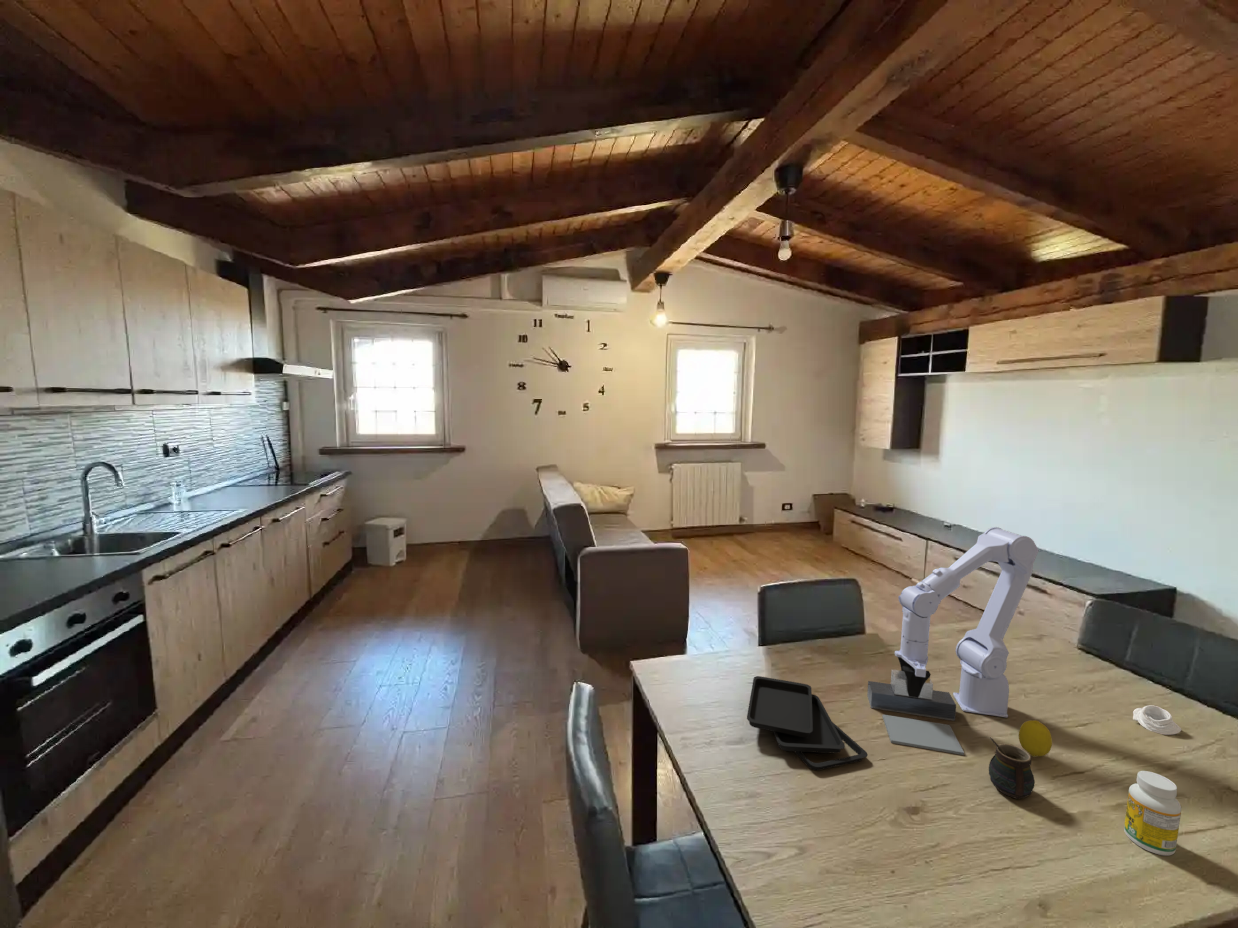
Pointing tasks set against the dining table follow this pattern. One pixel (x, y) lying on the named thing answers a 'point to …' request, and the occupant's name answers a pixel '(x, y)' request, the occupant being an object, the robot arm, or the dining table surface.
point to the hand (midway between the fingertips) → (910, 690)
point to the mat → (922, 734)
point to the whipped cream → (1156, 720)
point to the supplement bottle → (1153, 813)
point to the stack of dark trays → (798, 721)
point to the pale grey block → (901, 685)
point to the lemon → (1035, 738)
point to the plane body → (911, 702)
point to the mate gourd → (1011, 771)
